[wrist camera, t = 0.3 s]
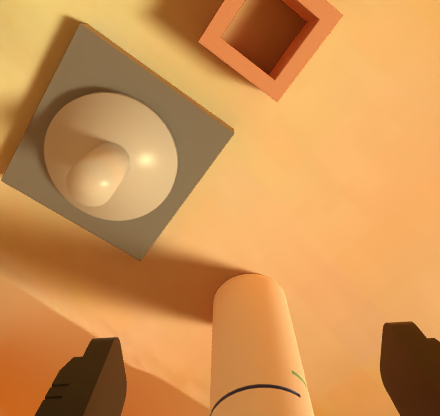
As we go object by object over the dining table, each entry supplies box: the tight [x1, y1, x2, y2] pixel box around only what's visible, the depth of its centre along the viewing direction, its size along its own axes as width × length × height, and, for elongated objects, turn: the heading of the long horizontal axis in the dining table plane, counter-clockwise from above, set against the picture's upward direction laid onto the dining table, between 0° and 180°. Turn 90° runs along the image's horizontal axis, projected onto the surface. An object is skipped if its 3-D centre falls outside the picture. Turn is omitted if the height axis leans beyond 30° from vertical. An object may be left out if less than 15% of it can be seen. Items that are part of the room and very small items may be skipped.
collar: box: [199, 0, 343, 102], centre depth 25 cm, size 6×6×4 cm
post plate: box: [1, 23, 234, 261], centre depth 28 cm, size 14×13×8 cm
